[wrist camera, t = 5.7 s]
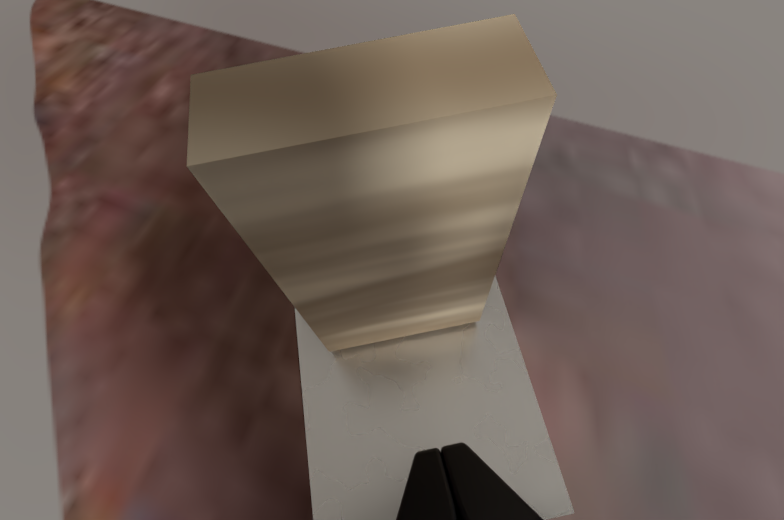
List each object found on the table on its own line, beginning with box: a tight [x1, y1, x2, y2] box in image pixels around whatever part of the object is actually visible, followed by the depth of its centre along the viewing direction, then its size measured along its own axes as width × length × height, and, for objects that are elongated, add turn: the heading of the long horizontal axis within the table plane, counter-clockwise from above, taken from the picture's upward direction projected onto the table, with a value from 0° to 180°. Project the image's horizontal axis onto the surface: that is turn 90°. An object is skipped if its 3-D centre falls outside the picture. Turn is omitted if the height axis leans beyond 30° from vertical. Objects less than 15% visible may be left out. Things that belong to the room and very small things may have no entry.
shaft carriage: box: [187, 14, 557, 352], centre depth 16 cm, size 8×7×13 cm
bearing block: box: [295, 276, 574, 520], centre depth 16 cm, size 15×10×10 cm
